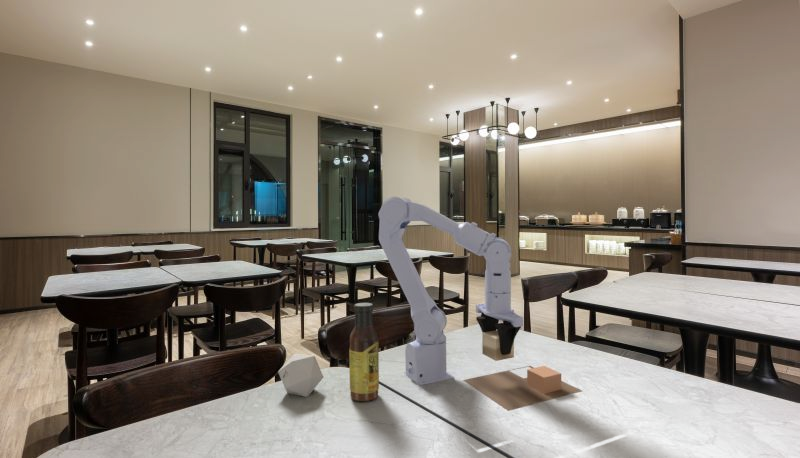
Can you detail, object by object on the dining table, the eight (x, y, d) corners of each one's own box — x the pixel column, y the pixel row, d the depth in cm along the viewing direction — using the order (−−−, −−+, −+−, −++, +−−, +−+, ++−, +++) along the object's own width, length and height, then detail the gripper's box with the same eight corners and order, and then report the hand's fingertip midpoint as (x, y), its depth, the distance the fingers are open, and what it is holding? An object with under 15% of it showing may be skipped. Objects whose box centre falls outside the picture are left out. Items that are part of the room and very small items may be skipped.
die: (285, 387, 92) (266, 362, 87) (318, 362, 96) (302, 337, 90) (299, 413, 86) (280, 388, 80) (334, 386, 89) (318, 360, 84)
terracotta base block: (543, 393, 85) (543, 377, 85) (527, 384, 89) (527, 369, 89) (561, 389, 87) (561, 373, 87) (544, 380, 91) (544, 365, 91)
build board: (508, 412, 78) (508, 409, 78) (462, 381, 92) (462, 379, 92) (582, 392, 86) (582, 390, 86) (529, 367, 101) (529, 365, 101)
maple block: (495, 360, 88) (495, 338, 88) (482, 353, 93) (482, 332, 93) (513, 357, 90) (513, 335, 90) (499, 350, 95) (499, 329, 95)
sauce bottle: (374, 404, 82) (373, 308, 81) (345, 402, 83) (344, 307, 82) (382, 390, 88) (381, 301, 88) (355, 388, 90) (353, 300, 89)
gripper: (534, 295, 86) (534, 357, 86) (492, 285, 99) (492, 339, 100) (508, 298, 83) (508, 362, 84) (468, 287, 96) (468, 342, 97)
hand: (497, 350), depth 91 cm, fingers closed on maple block, 5 cm apart
